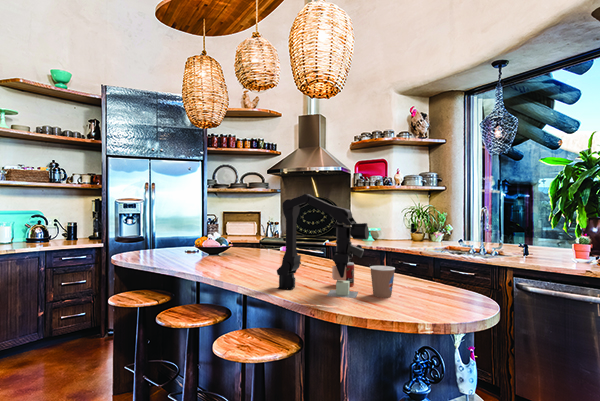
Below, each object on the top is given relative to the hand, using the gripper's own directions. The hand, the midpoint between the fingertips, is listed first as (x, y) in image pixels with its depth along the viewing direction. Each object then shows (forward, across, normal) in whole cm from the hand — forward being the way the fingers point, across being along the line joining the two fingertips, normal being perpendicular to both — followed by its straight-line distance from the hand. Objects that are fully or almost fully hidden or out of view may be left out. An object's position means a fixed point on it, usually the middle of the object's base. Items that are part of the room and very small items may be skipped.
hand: (342, 276), depth 153 cm
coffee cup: (+8, +2, -16) cm, 18 cm away
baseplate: (+8, 0, 0) cm, 8 cm away
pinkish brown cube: (+1, 0, +2) cm, 2 cm away
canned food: (+8, +18, +1) cm, 20 cm away
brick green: (+7, 0, 0) cm, 7 cm away
